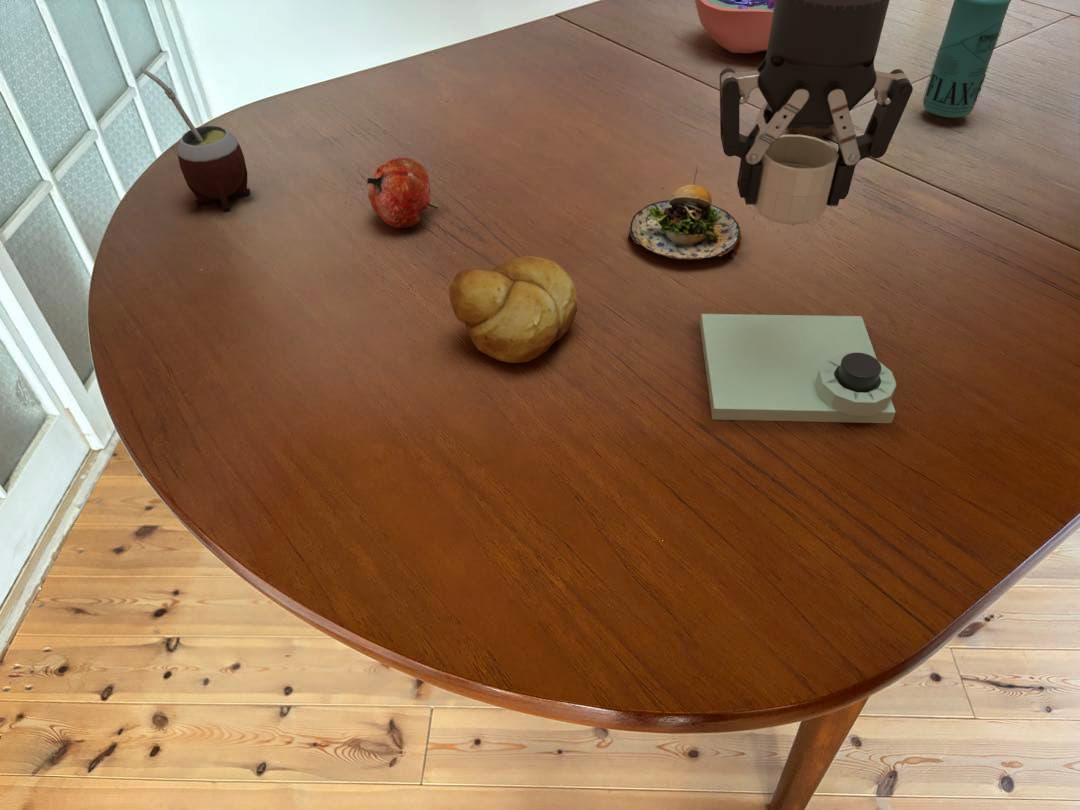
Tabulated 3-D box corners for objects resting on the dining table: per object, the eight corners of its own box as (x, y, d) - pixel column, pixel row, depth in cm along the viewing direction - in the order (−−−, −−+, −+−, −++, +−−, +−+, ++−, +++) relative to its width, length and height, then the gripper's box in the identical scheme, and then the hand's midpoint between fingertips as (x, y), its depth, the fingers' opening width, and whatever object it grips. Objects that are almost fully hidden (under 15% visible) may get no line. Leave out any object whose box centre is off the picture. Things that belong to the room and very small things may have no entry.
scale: (858, 327, 82) (866, 302, 80) (893, 428, 72) (903, 402, 70) (699, 325, 82) (703, 299, 80) (712, 424, 73) (717, 399, 71)
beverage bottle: (908, 118, 113) (956, -47, 99) (934, 102, 116) (984, -60, 102) (954, 134, 109) (1011, -35, 95) (980, 117, 112) (1038, -48, 99)
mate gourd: (258, 206, 100) (223, 80, 90) (189, 221, 98) (144, 94, 87) (248, 177, 105) (214, 54, 95) (182, 191, 103) (139, 67, 92)
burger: (606, 245, 93) (609, 183, 87) (669, 201, 99) (675, 140, 94) (700, 287, 87) (709, 222, 82) (760, 237, 93) (772, 174, 88)
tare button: (871, 368, 73) (876, 352, 72) (880, 393, 71) (885, 377, 70) (833, 367, 74) (838, 351, 72) (840, 392, 71) (845, 377, 70)
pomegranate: (413, 214, 102) (339, 184, 96) (445, 164, 99) (372, 130, 92) (432, 251, 98) (357, 223, 91) (467, 201, 95) (391, 168, 88)
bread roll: (535, 282, 88) (533, 214, 82) (609, 320, 83) (612, 250, 78) (443, 343, 81) (434, 273, 76) (518, 388, 76) (514, 317, 71)
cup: (817, 190, 72) (830, 134, 69) (830, 228, 68) (845, 170, 65) (747, 189, 73) (756, 133, 69) (756, 226, 69) (766, 169, 65)
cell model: (811, 80, 122) (828, -4, 114) (674, 62, 127) (681, -19, 120) (827, 36, 133) (843, -43, 125) (700, 22, 139) (708, -54, 131)
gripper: (734, 0, 56) (704, 224, 68) (959, 0, 55) (890, 226, 67) (723, -36, 61) (697, 176, 73) (928, -37, 61) (869, 178, 72)
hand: (790, 199), depth 70 cm, fingers closed on cup, 6 cm apart
